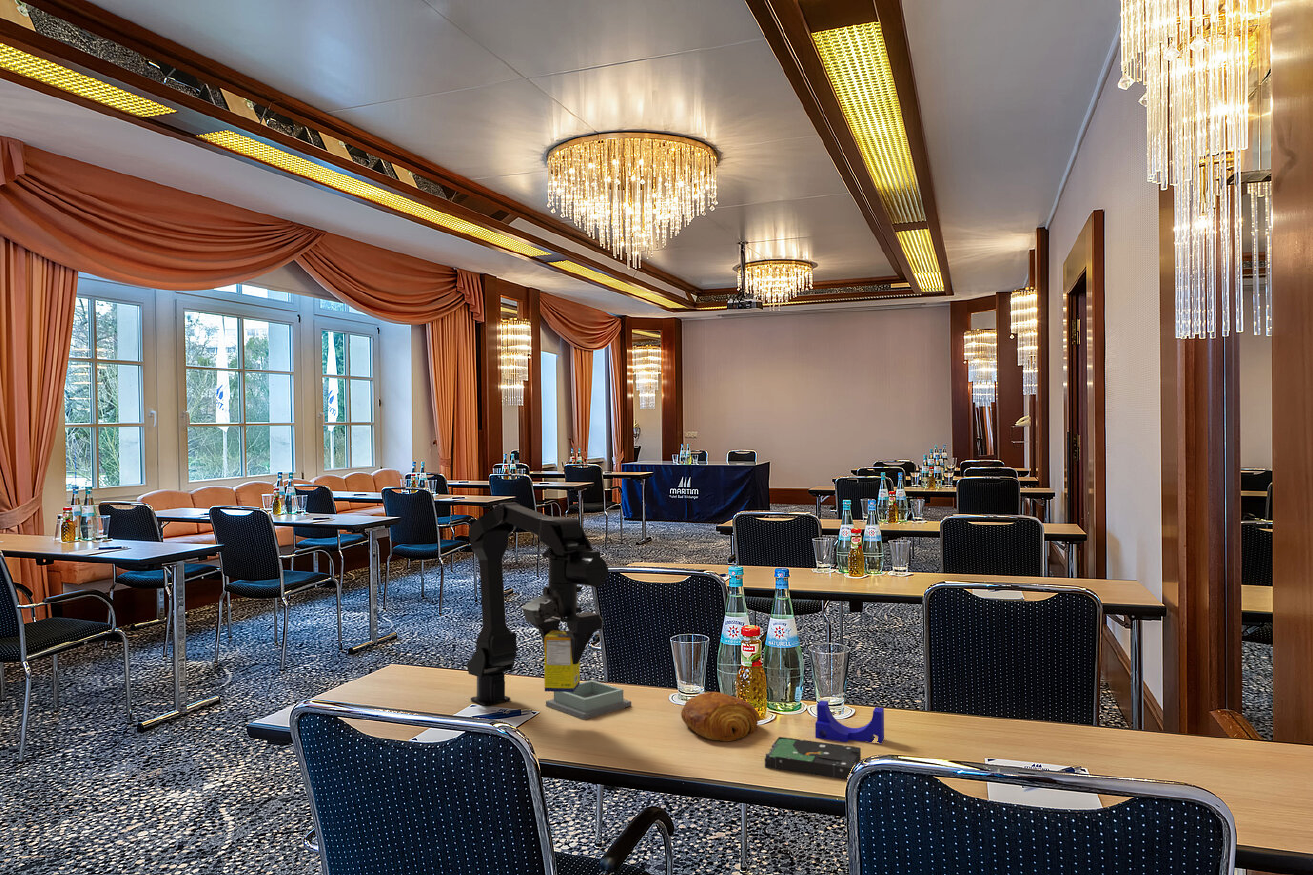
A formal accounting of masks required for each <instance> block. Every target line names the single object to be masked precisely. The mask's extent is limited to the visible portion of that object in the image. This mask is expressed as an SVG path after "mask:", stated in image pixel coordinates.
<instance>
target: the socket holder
mask: <svg viewBox="0 0 1313 875" xmlns="http://www.w3.org/2000/svg"><path fill="white" fill-rule="evenodd" d="M545 706H546V707H548V708H551V709H554V710H557V711H559V712H562V713H564V714H567V715H570V716H573V717H576V718H578V719H581V720H588V719H590V718H594V717H598V716H602V715H605V714H608V713H611V712H612V713H613V712H615V711H619V710H623V709H626V708H625V707H627V708H629V707H628V706H630V707H632V701H631V700H628V699H625V698H624V689H622V688H620V687H616V686H612V685H610V684H607V683H606V684H605V683H603V682H601V681H597V680H592V679H591V680H587V681H583V682H580V684H579V685H578V687H577V688H576V689H575V691H574V692H555V691H553V699H549V700H546V701H545ZM622 708H623V709H622Z"/></svg>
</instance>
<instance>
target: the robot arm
mask: <svg viewBox="0 0 1313 875" xmlns="http://www.w3.org/2000/svg"><path fill="white" fill-rule="evenodd" d="M516 528H517V529H518V528H519V529H521V530H523V531H526V532H529V533H531V534H534V535H536V536H537V537H538V540H539V542H541V543H542V544H544V545H545V546H546V547H548V548H547V549H546V550H545V551H544V552H543V553H541V557H542V558H545V559H548V585H547V586H544V587H543V589H542V595H541V596H539V597H536V598H534V599H532V600H531V601H528V603H526V604H523V606H522V607H521V608H522V613H523V615H524V620H525V622H526V623H529V624H530V625H532V626H533V627H535V628H536V629H537V631H538V632H539V634H540V638H541V639H542V643H543V647H545V646H544V641H545V639H544V638H545V636H546V635H547V634H548V633H549V632H550V631H552V630H558V631H560V625H561V624H560V623H561V622H562V623H566V627H567V629H568V630H564V631H565V632H566V634H567V635H568V636H569V637H570V639H571V654H572V663H573V664H574V665H575V664H578V663H579V660H580V661H581V658H582V657H583V654H584V652H585V649H586V648H587V645H588V643H589V642H590V639H591V638H592V637H593V635H594V633H597V632H598V630H602V629H603V628H604V624H603V620H604V618H603V617H602V616H601V615H600V614H599V613H595V612H591V611H586V612H582V606H578V593H582V591H583V590H582V586H587V587H593V588H600V587H601V586H603V585H604V584H605V583H606V581H607V579H608V575H609V567H608V564H607V562H606V561H605V559H604V558H602V557H601V551H600V550H594V549H593V547H592V546H591V545H592V544H591V542H590V541H589V539H588V536H587V535H586V532H585V531H584V528H583V527H582V525H581V521H580V520H579V519H578V518H574V517H561V516H550V515H547V514H544V513H542V512H539V511H537V510H533V509H530V508H528V507H527V506H523V505H520V503H517V502H501V503H499V504H496V505H495V506H494V508H492V509H491V510H490V511H488V512H486V513H485V514H482V515H481V516H480V517H478V518H477V519H476V520H475V521H473V522H472V524H471V526H470V527H469V529H468V537H469V542H470V544H469V545H470V550H472V552H473V554H474V555H475V557H476V558H477V559H478V566H479V584H480V596H481V600H480V601H481V614H482V615H481V616H482V617H481V618H482V628H481V630H480V631H479V632H480V633H479V634H478V636H477V639H476V643H475V644H476V645H475V652H474V654H473V655H472V657H470V659H469V661H468V663H466V667H467V673H468V675H471V676H474V677H476V696H472V697H470V701H471V702H475V703H477V704H478V705H482V706H485V707H488V706H491V705H496V704H499V703H504V702H509V701H511V697H510V696H508V695H507V696H506V681H505V680H506V678H505V674H506V673H505V672H507V671H509V672H510V671H512V670H513V669H514V665H515V662H516V661H515V660H516V658H517V652H518V650H519V649H518V646H517V634H516V632H514V631H513V632H512V631H511V630H510V629H509V627H508V625H507V620H506V604H505V603H506V602H505V600H506V599H505V587H504V586H505V585H504V584H505V583H504V571H503V570H504V569H503V566H504V565H503V559H504V555H505V554H506V551H507V549H508V547H509V539H510V536H511V534H512V533H513V532H514V531H515V530H516ZM580 585H581V586H580Z"/></svg>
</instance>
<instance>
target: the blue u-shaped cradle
mask: <svg viewBox="0 0 1313 875" xmlns="http://www.w3.org/2000/svg"><path fill="white" fill-rule="evenodd" d="M829 705H830V704H829V700H819V702H818V703H817V705H816V721H815V723H814V725H815V726H814V730H815V732H814V733H815V734H814V736H815V739H821V740H829V741H836V742H843V743H848V742H849V741H854V740H856V741H855V742H862V741H868V742H867V743H869V742H872V741H873V740H874V738H875V737H876V738H878V741H877V742H879V743H882V744H883V742H884V740H885V710H884V709H885V708H884V707H879V706H878V707H877V706H875V707H874V709H873V711H872V717H871V720H870V721H869V722H868V723H866V725H864V726H861V727H848V726H847V725H844V724H842V723H841V722H839V721H838V720H837V719H836V718H835V717H834V715H833V714H832V712H831V710H830V706H829ZM883 739H884V740H883ZM882 741H883V742H882Z"/></svg>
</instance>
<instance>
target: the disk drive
mask: <svg viewBox="0 0 1313 875" xmlns="http://www.w3.org/2000/svg"><path fill="white" fill-rule="evenodd" d="M861 751H862V748H861V747H860V746H858V747H857V746H853V745H844V744H838V743H836V744H835V743H829V742H820V741H813V740H806V739H798V738H792V737H785V736H784V737H783V736H778V737H777V739H776V740H775V741H774V743H772V745H771V747H770V749H769V750H768V752H767V753H765V757H764V768H765V769H771V770H772V769H773V770H777V771H783V772H784V771H785V772H791V773H798V774H799V773H800V774H804V775H805V774H806V775H811V776H819V777H825V778H833V779H838V780H846V781H848V780H847V777H848V775H849V773H850V771H851V769H852V767H853V766H854V765H856V764H857V763H858V762H859V761H860V762H861V759H862V757H861V754H862V752H861Z"/></svg>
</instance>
